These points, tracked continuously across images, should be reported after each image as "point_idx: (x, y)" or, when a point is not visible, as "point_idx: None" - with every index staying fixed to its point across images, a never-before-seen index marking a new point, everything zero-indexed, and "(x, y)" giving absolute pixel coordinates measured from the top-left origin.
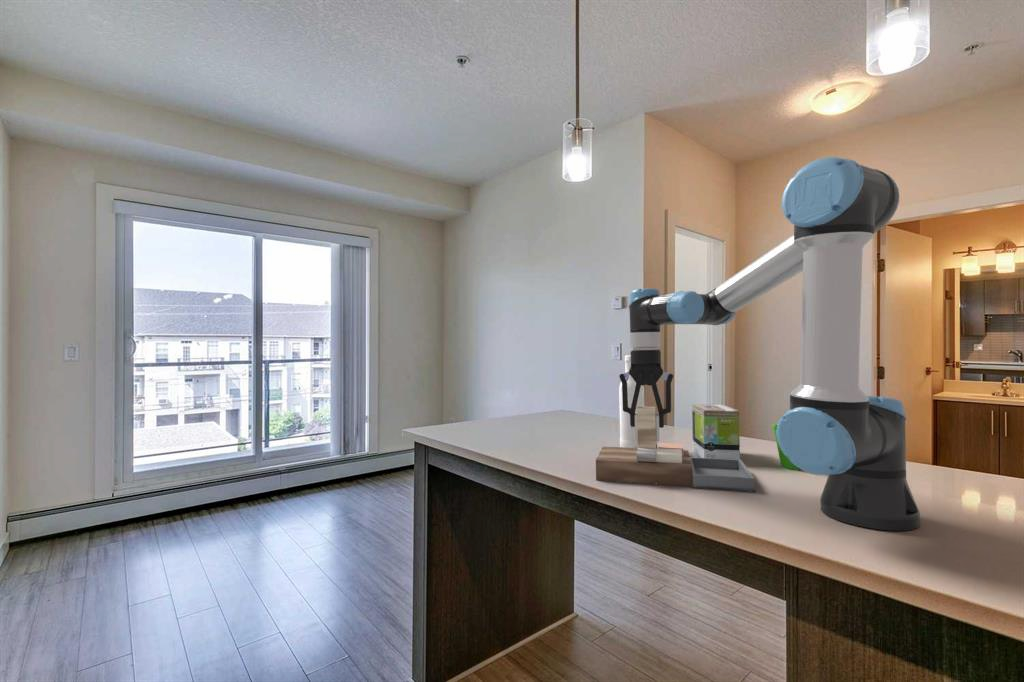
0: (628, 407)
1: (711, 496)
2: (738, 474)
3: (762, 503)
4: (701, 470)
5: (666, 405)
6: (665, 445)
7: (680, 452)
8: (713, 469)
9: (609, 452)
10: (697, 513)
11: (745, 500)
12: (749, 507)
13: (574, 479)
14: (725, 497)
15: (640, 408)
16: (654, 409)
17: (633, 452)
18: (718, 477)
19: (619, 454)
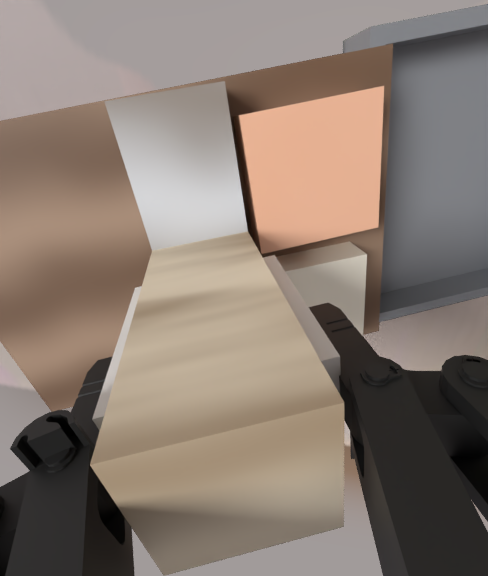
0: (7, 545)
1: (381, 344)
2: None
3: (472, 339)
4: (395, 112)
5: (481, 506)
6: (290, 188)
7: (360, 306)
8: (446, 68)
9: (18, 285)
10: (345, 432)
11: (445, 337)
12: (439, 370)
13: (12, 381)
14: (409, 337)
15: (197, 566)
16: (332, 519)
17: (126, 235)
18: (429, 307)
19: (85, 302)
